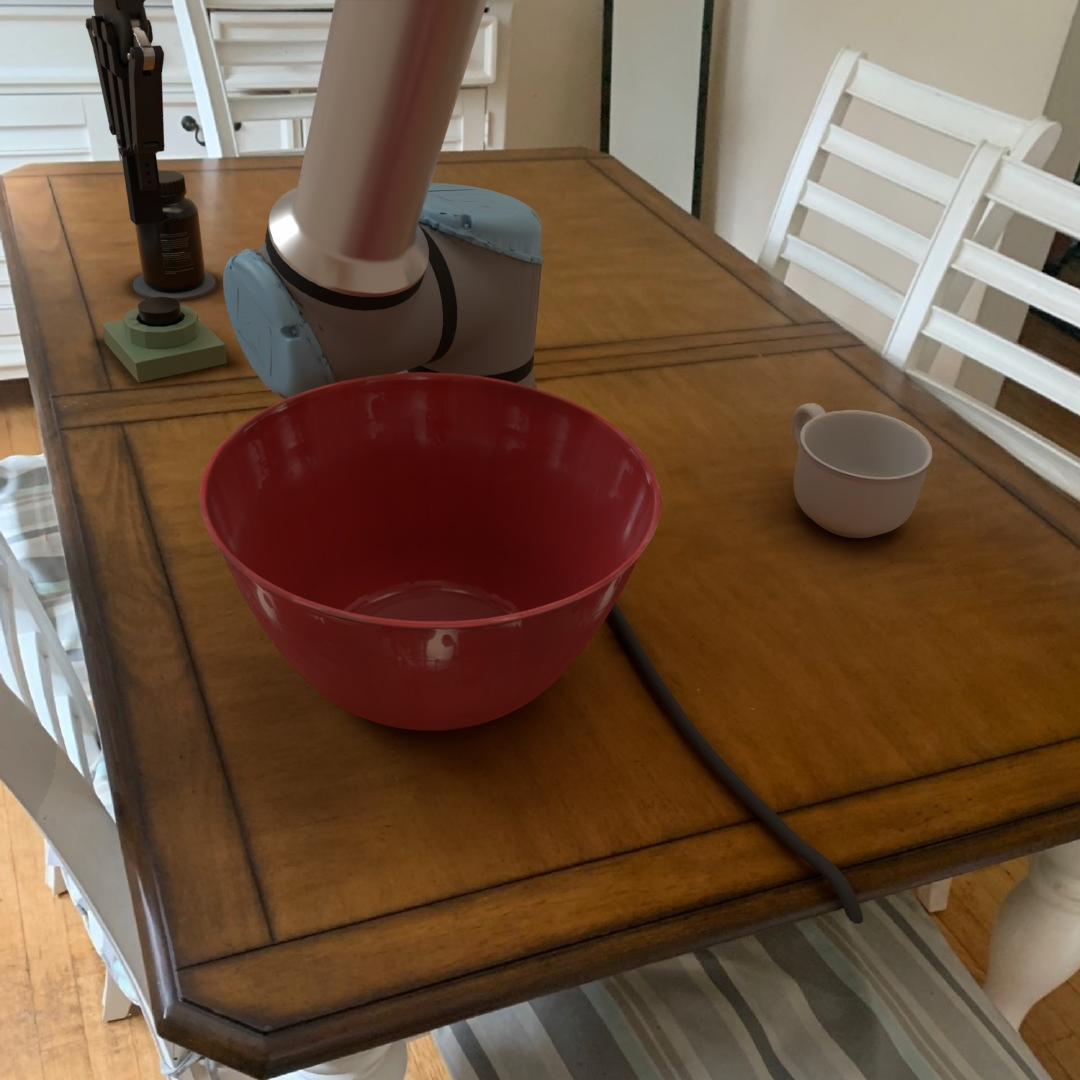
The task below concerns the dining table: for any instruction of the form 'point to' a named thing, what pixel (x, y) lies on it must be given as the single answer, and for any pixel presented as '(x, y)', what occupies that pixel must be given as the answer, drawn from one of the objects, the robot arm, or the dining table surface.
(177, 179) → the supplement bottle
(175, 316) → the button
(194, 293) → the coaster
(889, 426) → the teacup
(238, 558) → the mixing bowl
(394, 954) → the dining table surface
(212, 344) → the button box
